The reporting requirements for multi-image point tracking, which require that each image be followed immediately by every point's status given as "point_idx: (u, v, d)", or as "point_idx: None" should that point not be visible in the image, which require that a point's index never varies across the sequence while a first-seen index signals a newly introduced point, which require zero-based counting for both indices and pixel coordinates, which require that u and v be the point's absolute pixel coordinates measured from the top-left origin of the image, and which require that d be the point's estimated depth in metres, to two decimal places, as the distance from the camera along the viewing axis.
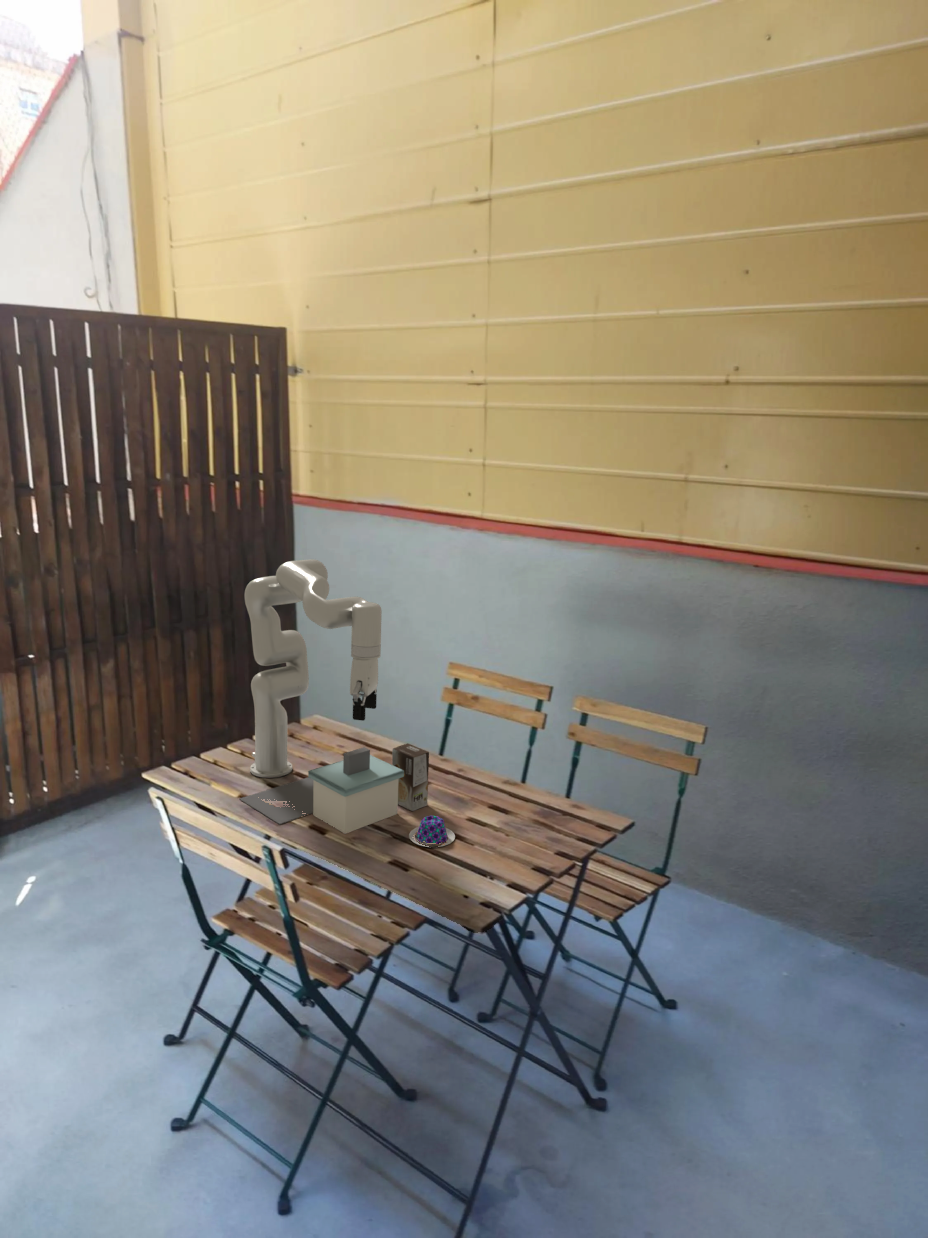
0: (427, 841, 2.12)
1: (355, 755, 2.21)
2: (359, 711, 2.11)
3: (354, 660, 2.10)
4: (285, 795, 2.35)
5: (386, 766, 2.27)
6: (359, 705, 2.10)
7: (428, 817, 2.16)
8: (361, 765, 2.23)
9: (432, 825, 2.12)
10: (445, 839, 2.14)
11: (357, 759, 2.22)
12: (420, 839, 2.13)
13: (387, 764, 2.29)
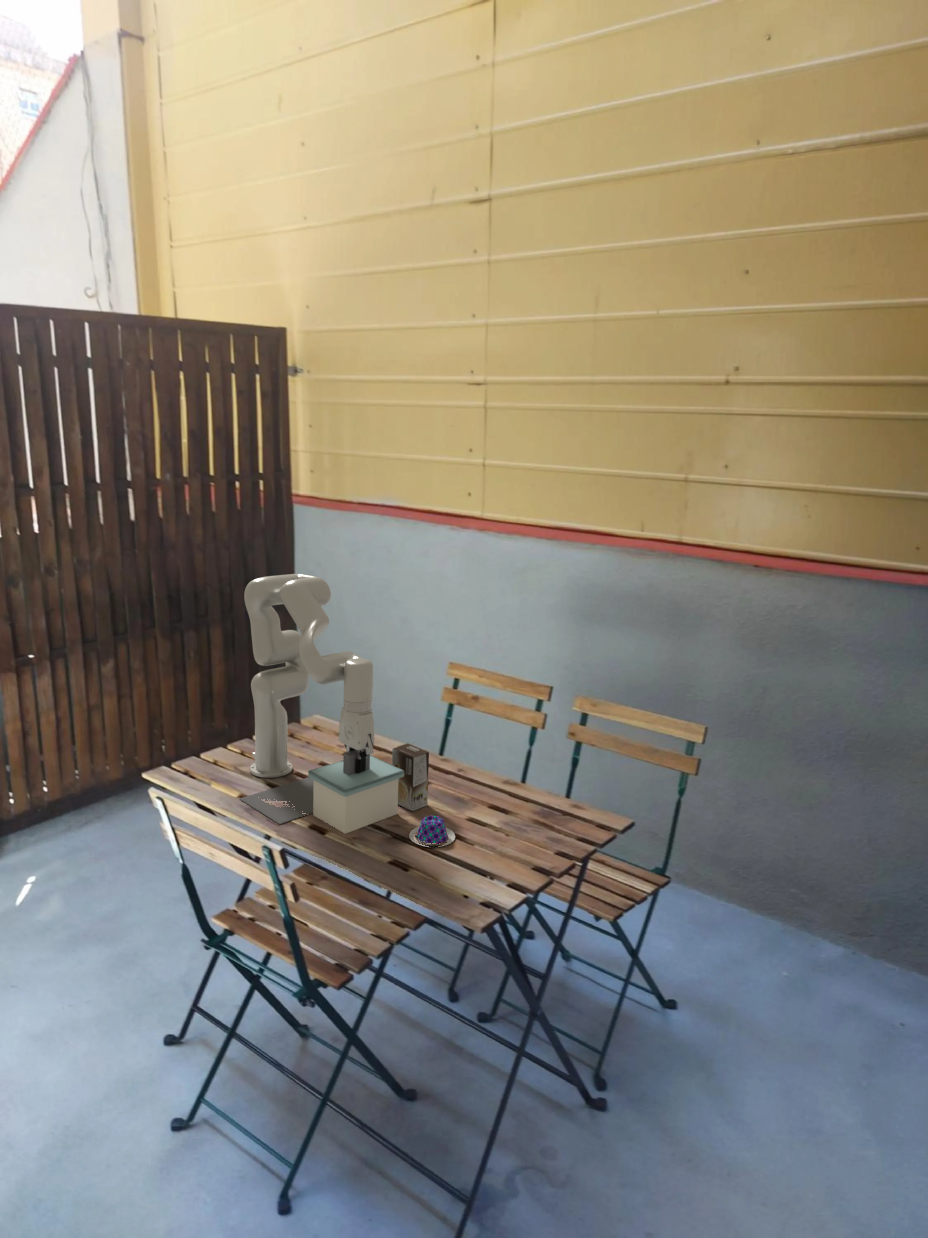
0: (427, 841, 2.12)
1: (355, 755, 2.21)
2: (363, 763, 2.22)
3: (362, 716, 2.16)
4: (285, 795, 2.35)
5: (386, 766, 2.27)
6: None
7: (428, 817, 2.16)
8: None
9: (432, 825, 2.12)
10: (445, 839, 2.14)
11: None
12: (420, 839, 2.13)
13: (387, 764, 2.29)
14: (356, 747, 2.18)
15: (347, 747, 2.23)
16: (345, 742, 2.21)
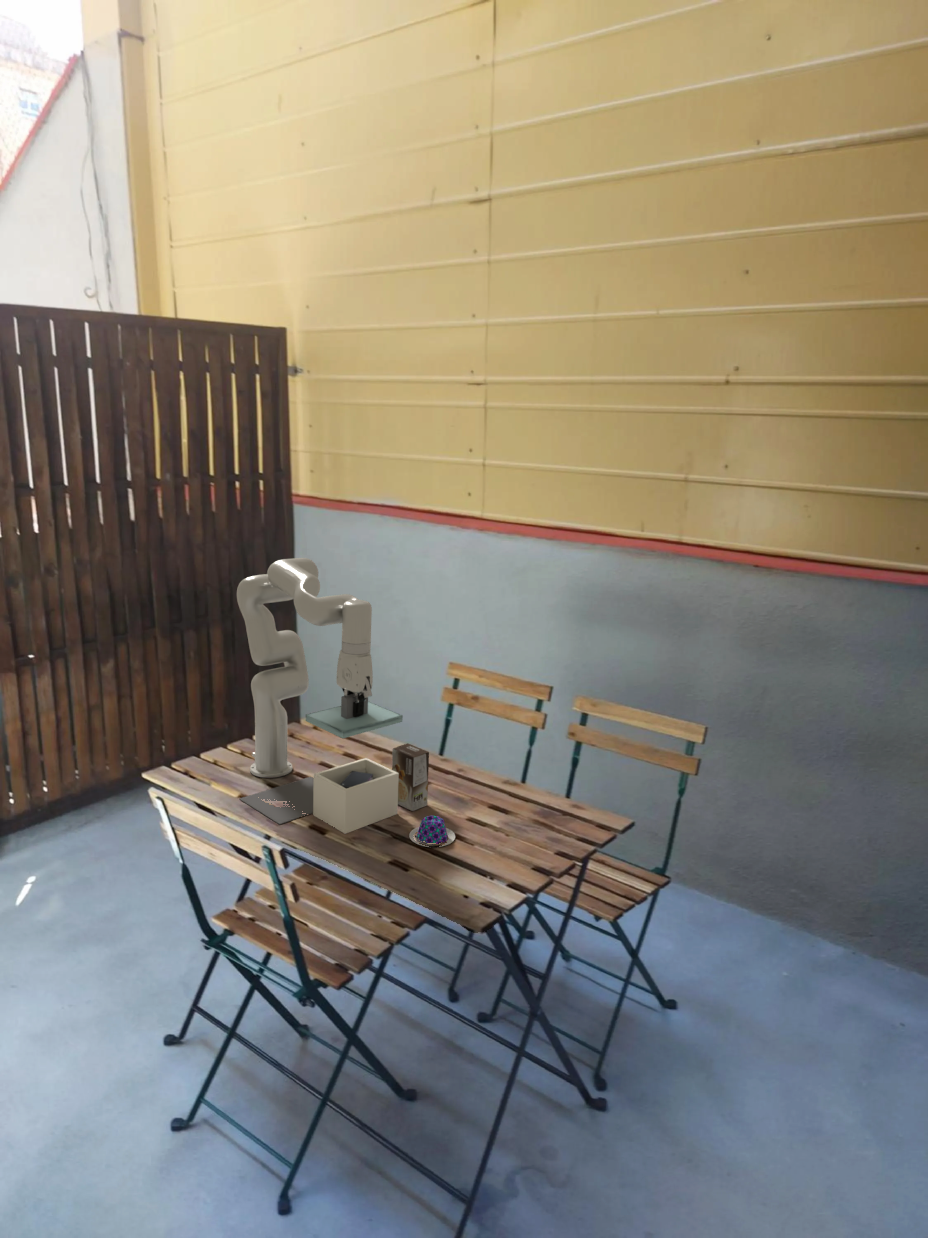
0: (427, 841, 2.12)
1: (353, 698, 2.18)
2: (362, 707, 2.19)
3: (361, 658, 2.13)
4: (285, 795, 2.35)
5: (384, 711, 2.25)
6: None
7: (428, 817, 2.16)
8: None
9: (432, 825, 2.12)
10: (445, 839, 2.14)
11: None
12: (420, 839, 2.13)
13: (385, 709, 2.26)
14: (354, 690, 2.15)
15: (345, 691, 2.20)
16: (342, 686, 2.18)
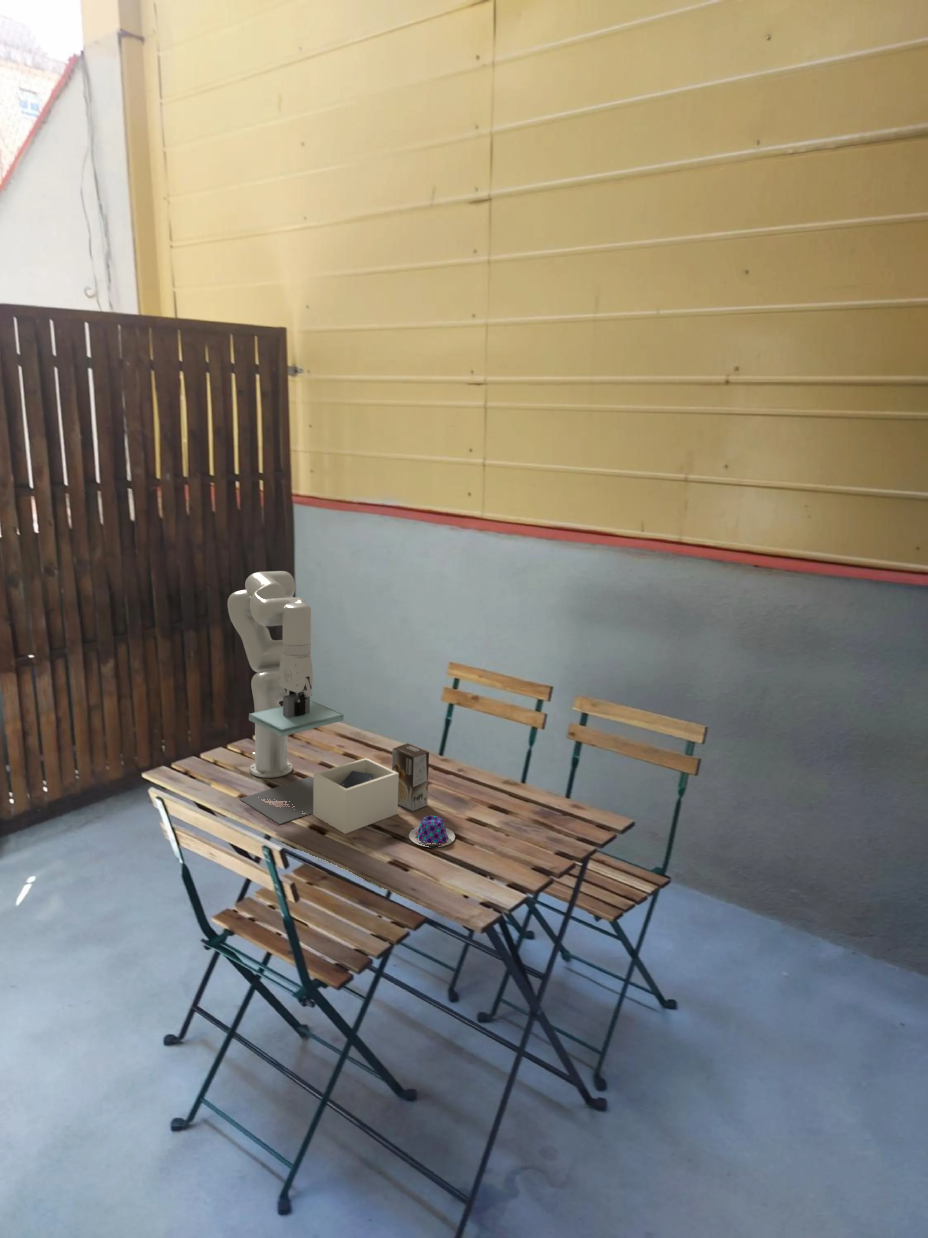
0: (427, 841, 2.12)
1: (294, 698, 2.25)
2: (303, 706, 2.26)
3: (300, 659, 2.20)
4: (285, 795, 2.35)
5: (326, 710, 2.32)
6: (303, 701, 2.26)
7: (428, 817, 2.16)
8: None
9: (432, 825, 2.12)
10: (445, 839, 2.14)
11: None
12: (420, 839, 2.13)
13: (328, 709, 2.33)
14: (294, 689, 2.22)
15: (287, 691, 2.27)
16: (284, 686, 2.25)
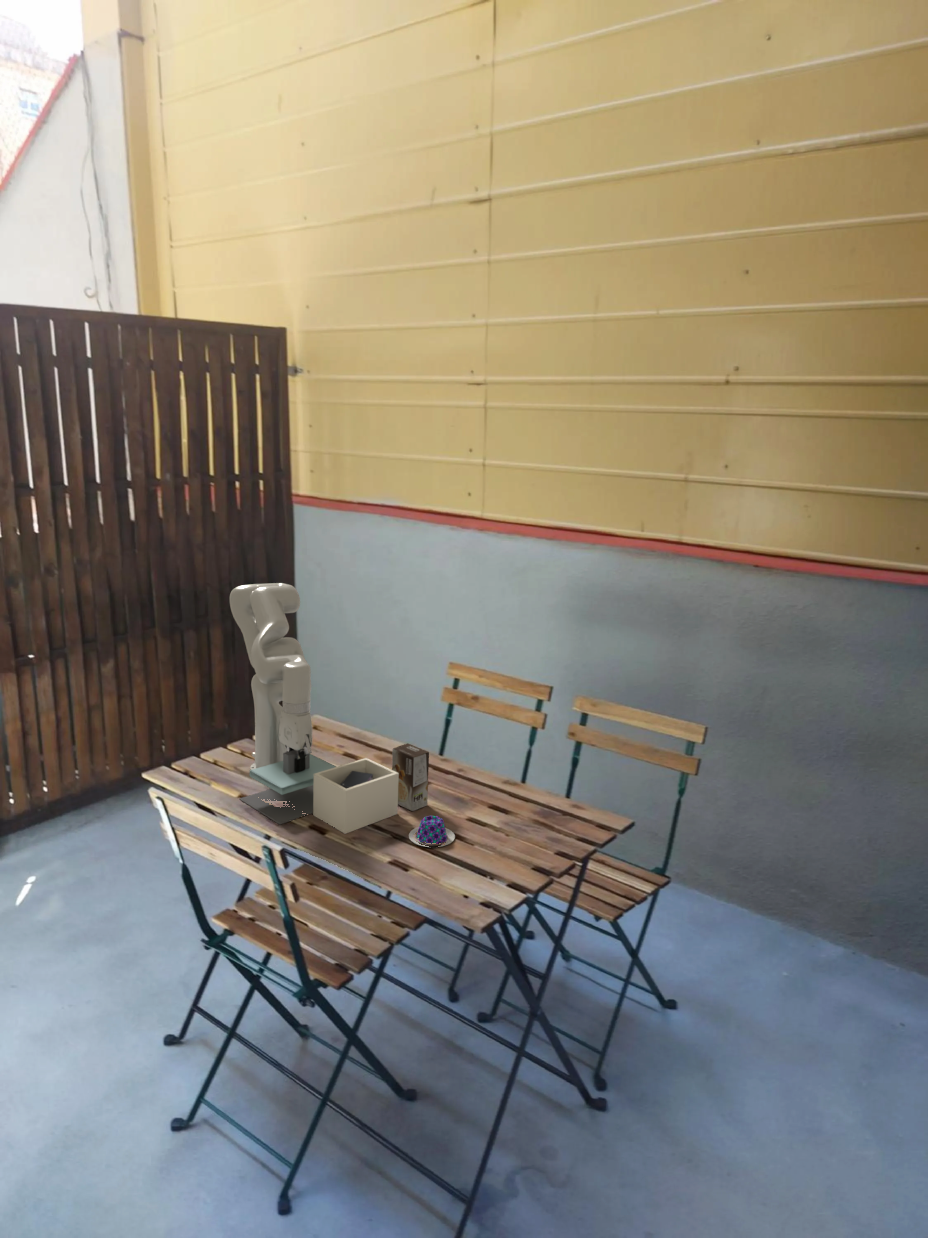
0: (427, 841, 2.12)
1: (294, 755, 2.29)
2: (303, 763, 2.30)
3: (300, 717, 2.24)
4: (285, 795, 2.35)
5: (326, 765, 2.35)
6: None
7: (428, 817, 2.16)
8: None
9: (432, 825, 2.12)
10: (445, 839, 2.14)
11: None
12: (420, 839, 2.13)
13: (327, 764, 2.37)
14: (294, 747, 2.26)
15: (287, 747, 2.31)
16: (284, 743, 2.29)
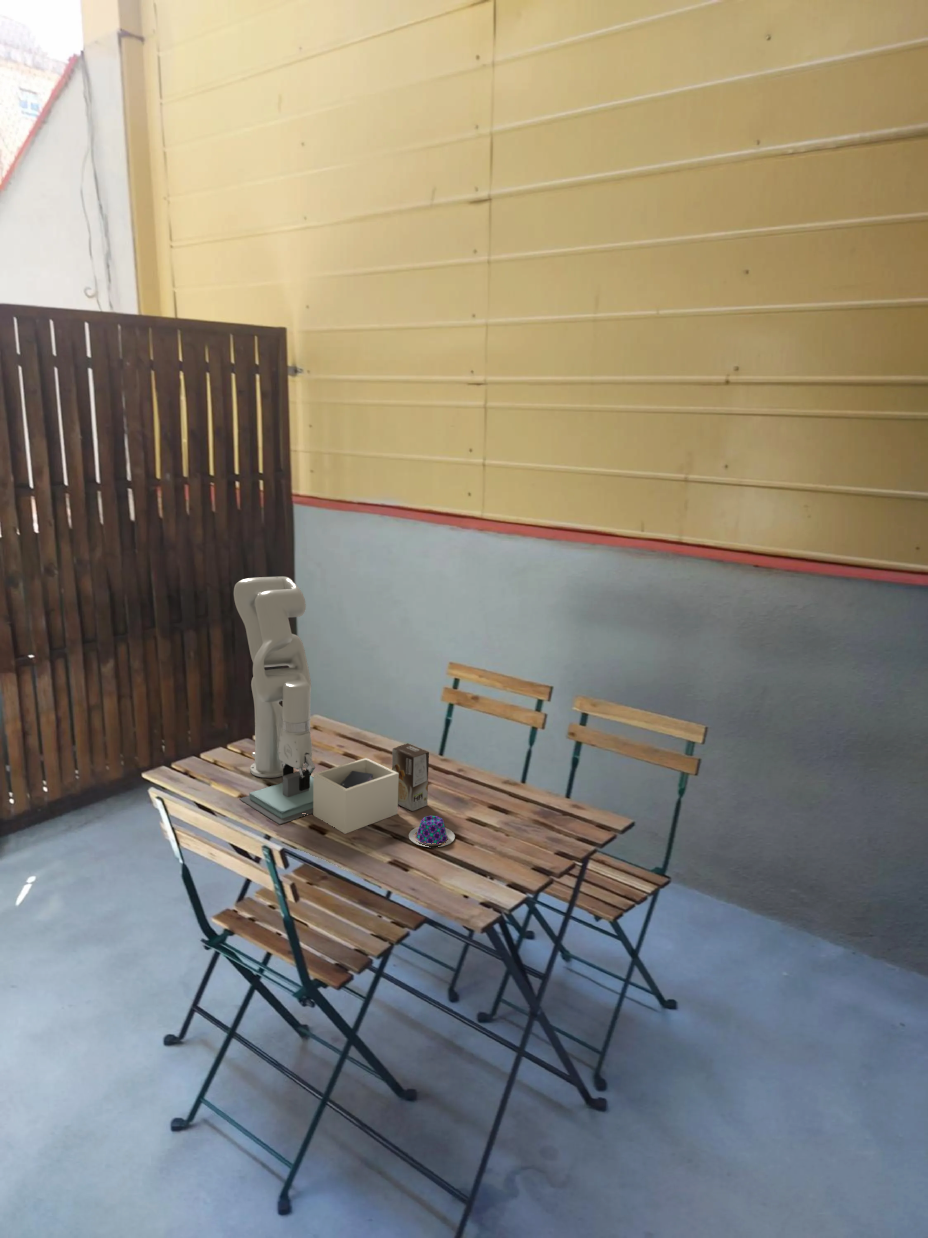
0: (428, 841, 2.12)
1: (294, 778, 2.30)
2: (307, 781, 2.29)
3: (300, 736, 2.25)
4: None
5: None
6: (308, 776, 2.29)
7: (427, 817, 2.16)
8: None
9: (433, 825, 2.12)
10: (445, 838, 2.14)
11: (296, 782, 2.31)
12: (421, 840, 2.13)
13: None
14: (294, 765, 2.27)
15: (284, 761, 2.33)
16: (284, 761, 2.30)
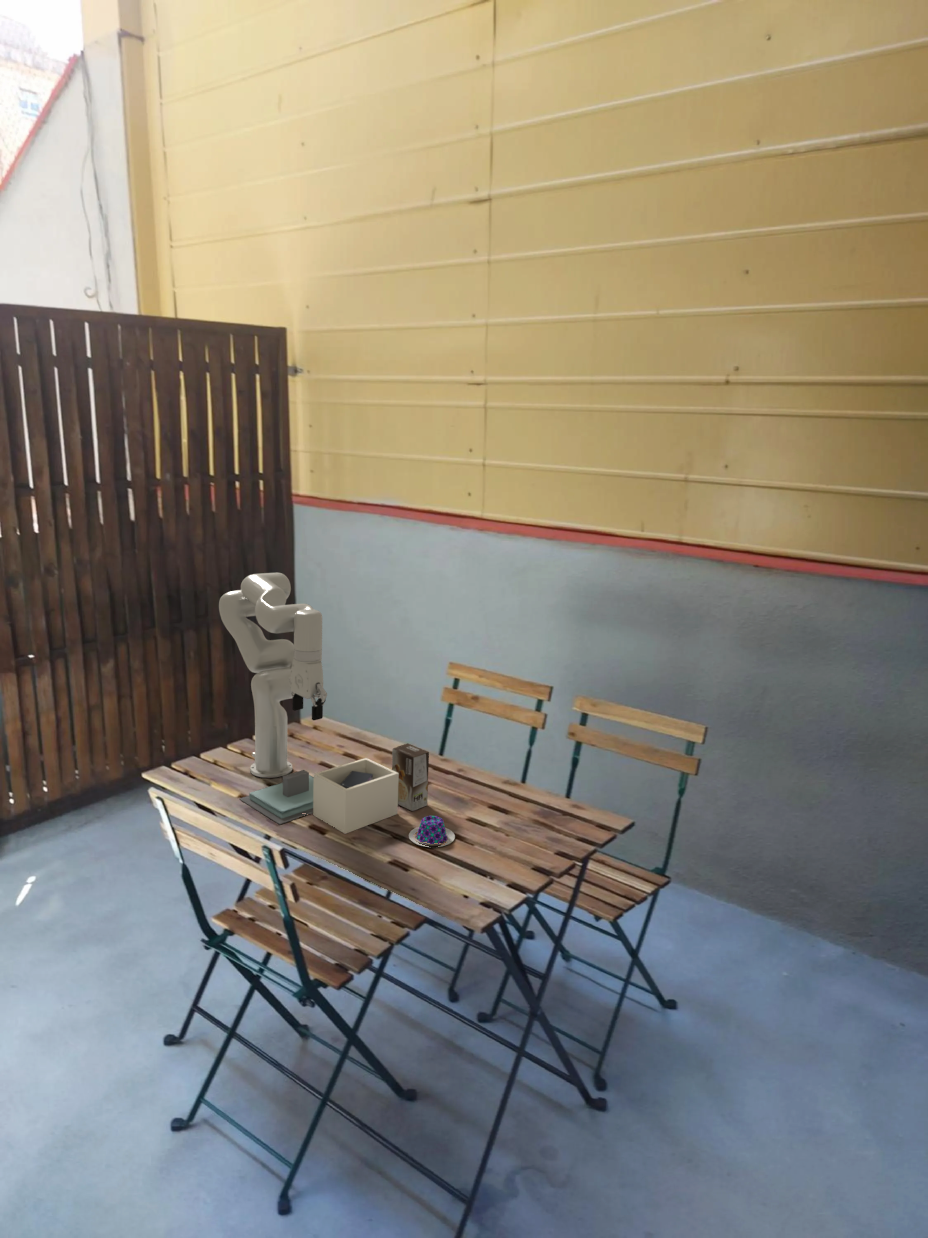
0: (429, 841, 2.12)
1: (294, 778, 2.30)
2: (320, 710, 2.26)
3: (311, 665, 2.22)
4: None
5: None
6: (321, 705, 2.25)
7: (427, 817, 2.16)
8: (300, 788, 2.33)
9: (433, 825, 2.12)
10: (446, 838, 2.15)
11: (296, 782, 2.31)
12: (421, 840, 2.13)
13: None
14: (305, 695, 2.24)
15: None
16: (295, 691, 2.28)
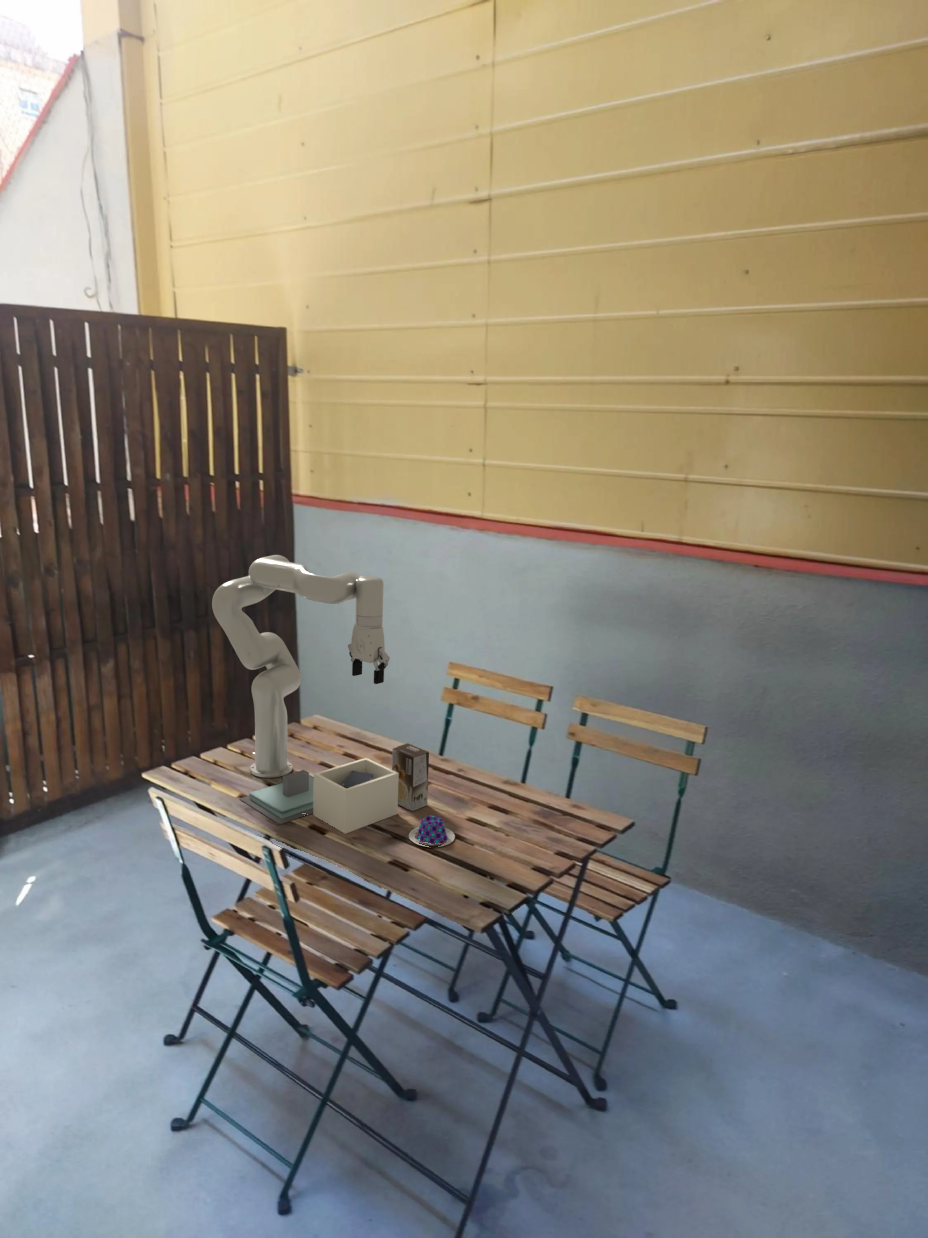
0: (430, 841, 2.12)
1: (294, 778, 2.30)
2: (382, 674, 2.32)
3: (374, 630, 2.29)
4: None
5: None
6: (383, 669, 2.32)
7: (427, 817, 2.16)
8: (300, 788, 2.33)
9: (434, 825, 2.12)
10: (446, 838, 2.15)
11: (296, 782, 2.31)
12: (422, 840, 2.13)
13: None
14: (367, 659, 2.31)
15: (354, 656, 2.37)
16: (356, 656, 2.34)
